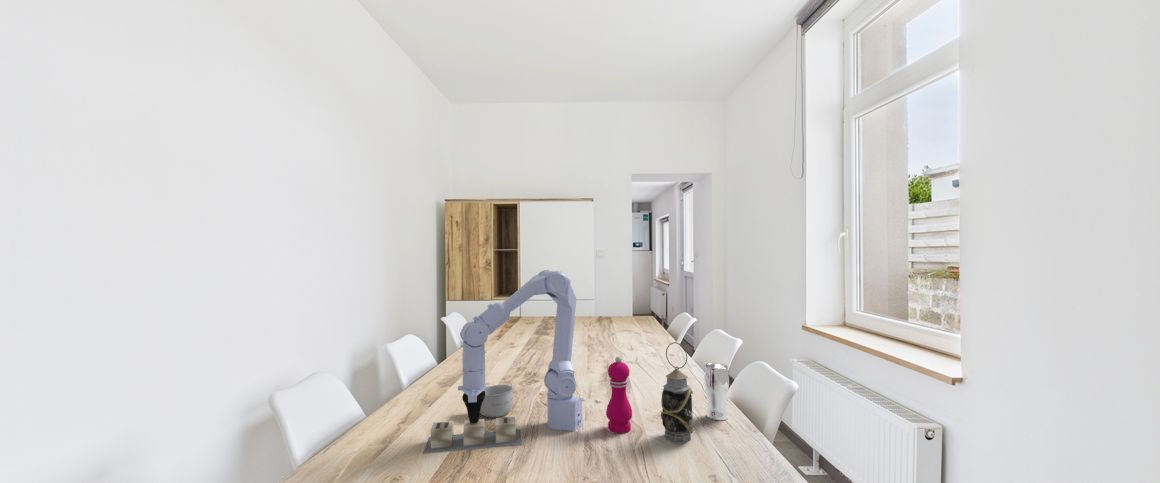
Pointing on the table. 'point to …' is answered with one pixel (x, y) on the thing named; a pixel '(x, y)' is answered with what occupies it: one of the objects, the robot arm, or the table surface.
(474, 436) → the plain block
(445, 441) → the marked block two
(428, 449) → the mat
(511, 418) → the marked block one
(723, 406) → the silver tall cylinder
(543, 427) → the table surface
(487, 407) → the teacup
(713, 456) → the table surface
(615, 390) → the pepper mill
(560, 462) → the table surface
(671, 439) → the lantern
